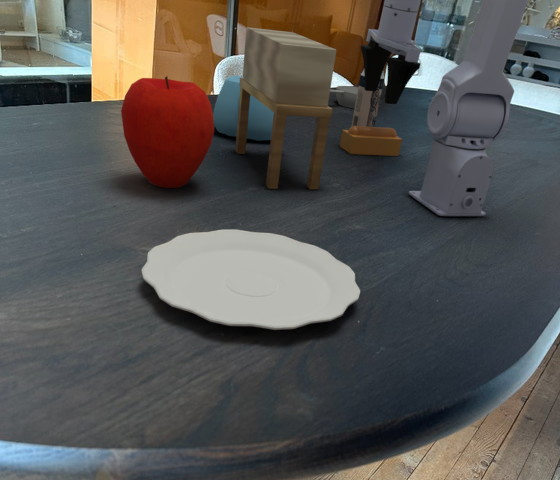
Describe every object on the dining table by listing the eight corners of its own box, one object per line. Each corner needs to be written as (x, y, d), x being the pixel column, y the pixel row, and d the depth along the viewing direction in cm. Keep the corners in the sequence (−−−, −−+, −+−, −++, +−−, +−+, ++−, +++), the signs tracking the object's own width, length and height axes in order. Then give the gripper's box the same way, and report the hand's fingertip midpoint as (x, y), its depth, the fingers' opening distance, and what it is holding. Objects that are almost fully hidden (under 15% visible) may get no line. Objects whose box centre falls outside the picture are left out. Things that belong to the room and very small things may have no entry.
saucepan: (385, 110, 147) (388, 93, 145) (333, 112, 137) (336, 94, 135) (354, 100, 154) (357, 84, 151) (303, 101, 143) (306, 84, 141)
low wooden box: (398, 156, 110) (404, 131, 107) (350, 154, 106) (354, 129, 104) (386, 148, 113) (391, 125, 111) (339, 146, 110) (343, 122, 108)
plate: (342, 253, 68) (344, 240, 67) (370, 352, 51) (375, 336, 50) (159, 235, 66) (159, 220, 65) (125, 331, 49) (124, 313, 48)
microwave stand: (322, 190, 87) (344, 51, 76) (268, 189, 84) (284, 45, 74) (281, 152, 101) (295, 32, 91) (234, 150, 99) (243, 26, 88)
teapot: (295, 69, 111) (281, 82, 96) (287, 128, 117) (273, 149, 102) (230, 58, 112) (206, 70, 97) (226, 118, 118) (203, 138, 103)
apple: (199, 170, 87) (203, 70, 80) (221, 197, 78) (229, 88, 71) (117, 169, 83) (114, 64, 75) (131, 198, 74) (129, 82, 67)
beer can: (372, 139, 118) (385, 73, 111) (348, 135, 119) (360, 69, 112) (373, 134, 122) (386, 70, 115) (351, 130, 123) (362, 67, 116)
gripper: (445, 20, 92) (420, 110, 101) (399, 2, 103) (379, 86, 111) (407, 15, 90) (385, 108, 98) (364, -2, 100) (347, 84, 108)
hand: (380, 96), depth 104 cm, fingers open, 7 cm apart
